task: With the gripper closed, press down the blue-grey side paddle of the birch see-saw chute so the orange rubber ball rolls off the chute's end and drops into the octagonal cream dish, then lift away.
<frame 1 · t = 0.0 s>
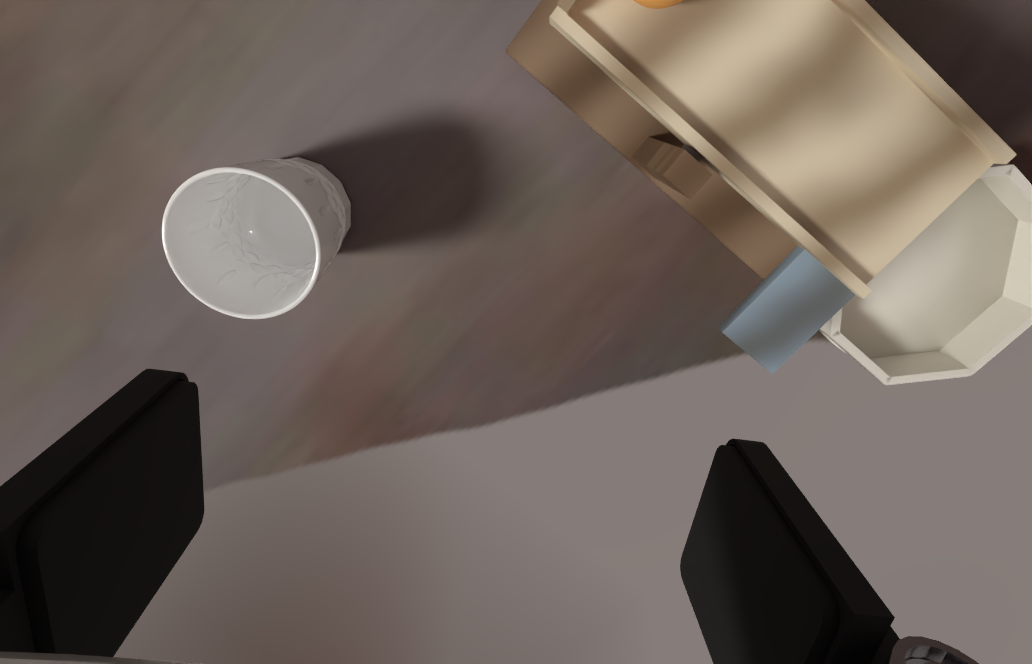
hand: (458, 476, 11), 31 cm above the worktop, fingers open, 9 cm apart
lever stand: (713, 77, 37), on the worktop
octagonal cream dish: (906, 265, 42), on the worktop
white cup: (301, 208, 40), on the worktop
lever: (729, 136, 32), point 7 cm above the worktop, hinge at -6.0°, touching ball
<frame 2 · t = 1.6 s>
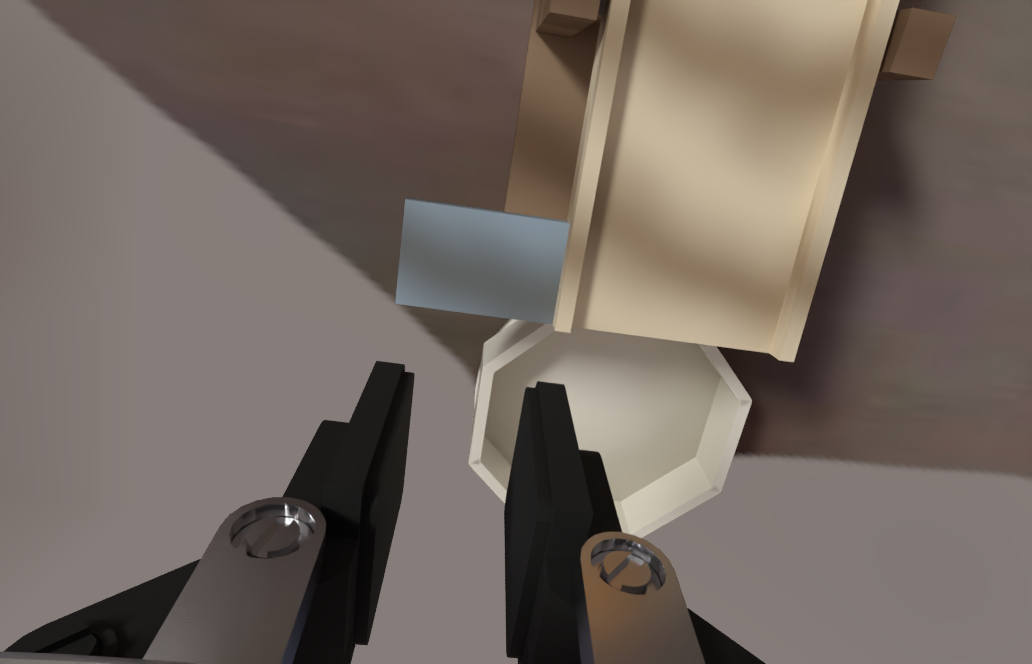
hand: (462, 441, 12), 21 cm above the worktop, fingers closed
lever stand: (679, 34, 28), on the worktop
octagonal cream dish: (596, 396, 36), on the worktop
lever: (646, 36, 22), point 7 cm above the worktop, hinge at -6.0°, touching ball
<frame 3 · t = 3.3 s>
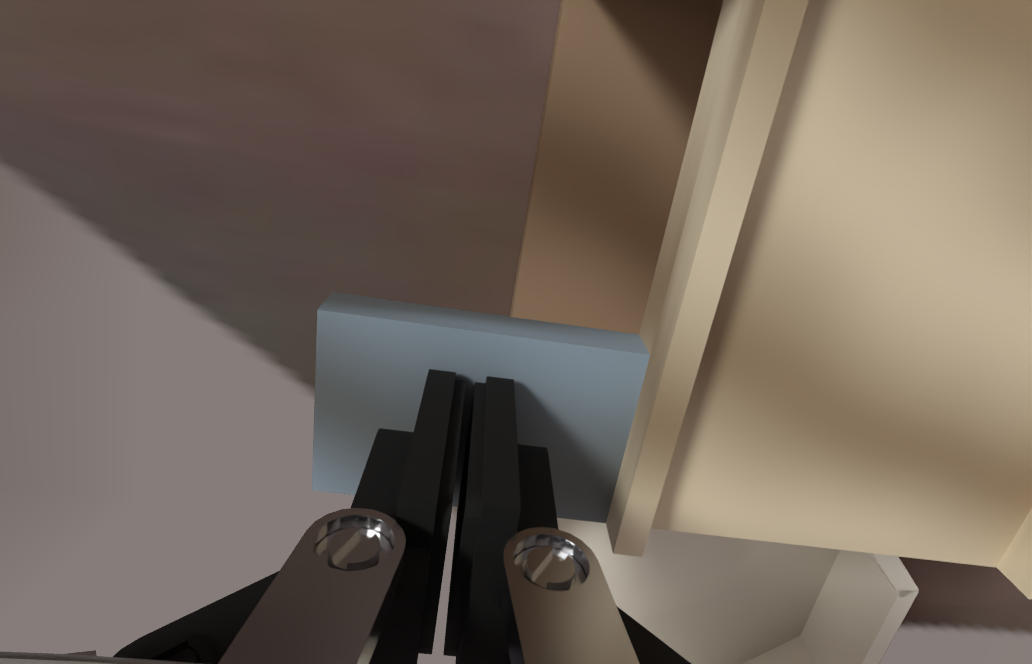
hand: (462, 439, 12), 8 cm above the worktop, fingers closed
octagonal cream dish: (653, 548, 24), on the worktop
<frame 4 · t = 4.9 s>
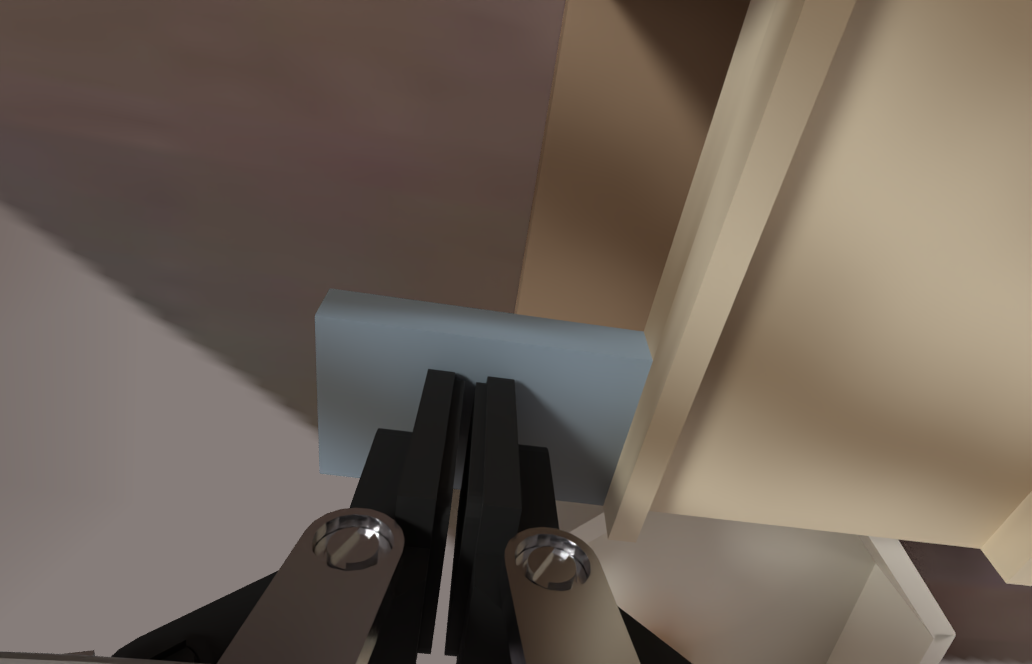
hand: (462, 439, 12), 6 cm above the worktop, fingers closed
octagonal cream dish: (664, 581, 22), on the worktop
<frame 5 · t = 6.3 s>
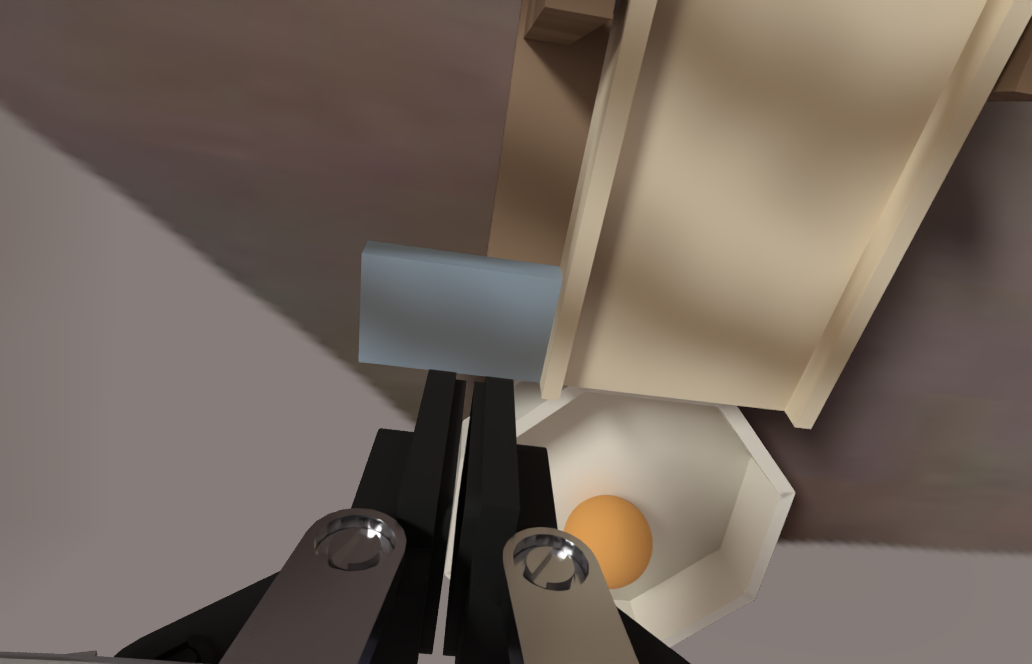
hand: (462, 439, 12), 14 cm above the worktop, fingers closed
lever stand: (704, 42, 23), on the worktop
octagonal cream dish: (600, 478, 29), on the worktop
ball: (607, 540, 27), point 3 cm above the worktop, tilted 141°, touching octagonal cream dish
lever: (673, 41, 16), point 7 cm above the worktop, hinge at 10.2°
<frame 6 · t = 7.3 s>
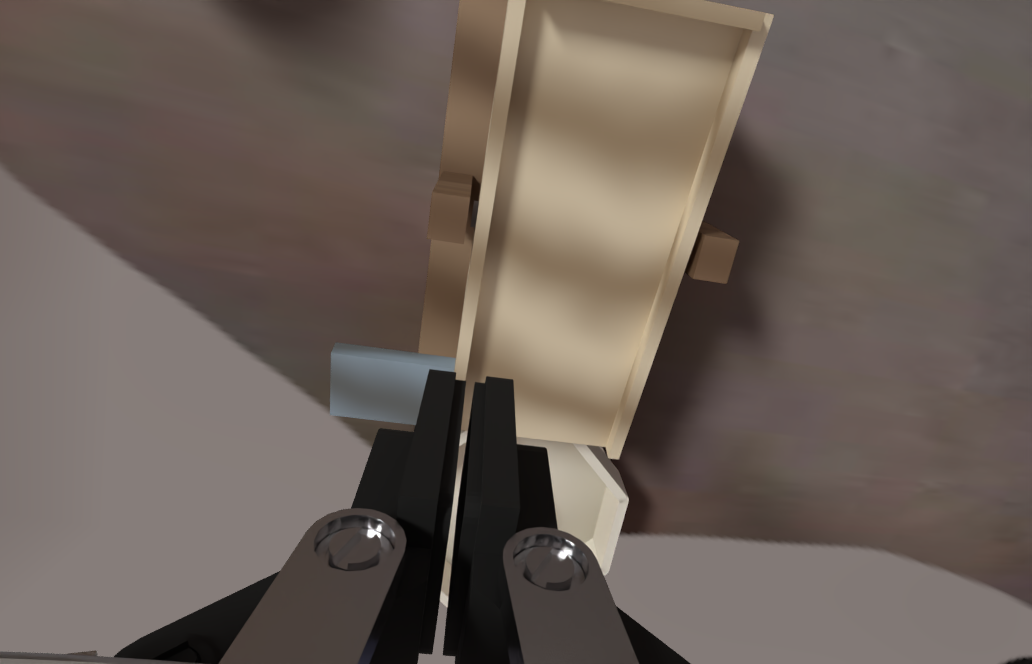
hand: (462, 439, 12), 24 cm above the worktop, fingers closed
lever stand: (560, 205, 35), on the worktop
octagonal cream dish: (506, 487, 41), on the worktop
lever: (511, 238, 28), point 7 cm above the worktop, hinge at 10.2°
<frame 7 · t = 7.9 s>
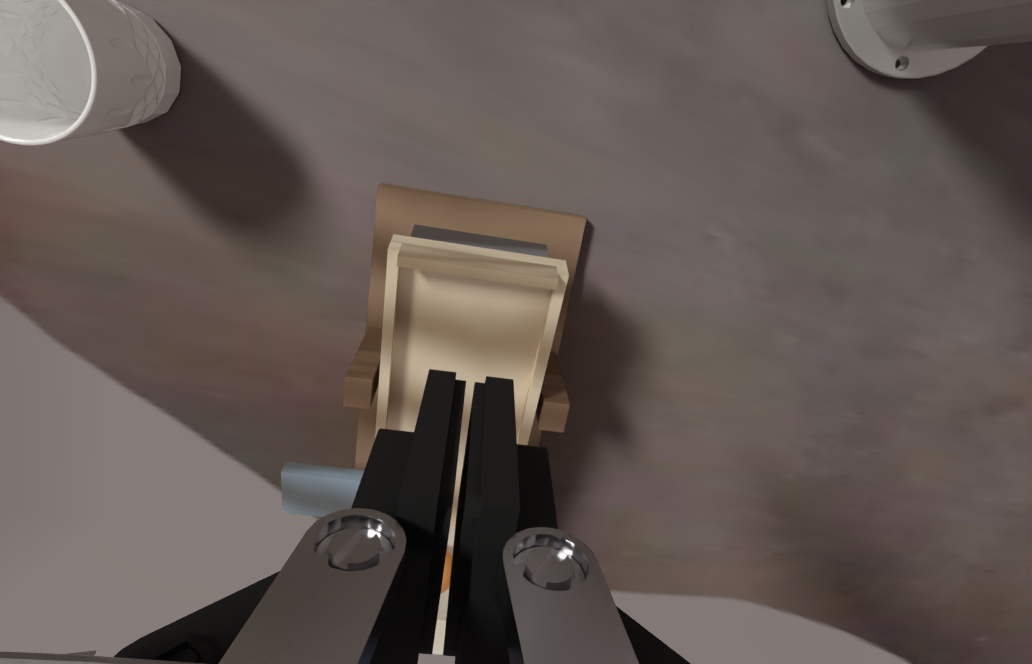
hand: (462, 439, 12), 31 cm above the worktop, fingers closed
lever stand: (462, 346, 45), on the worktop
octagonal cream dish: (432, 552, 52), on the worktop
ball: (430, 570, 49), point 3 cm above the worktop, tilted 80°, touching octagonal cream dish
white cup: (127, 64, 37), on the worktop
lever: (410, 394, 39), point 7 cm above the worktop, hinge at 10.2°
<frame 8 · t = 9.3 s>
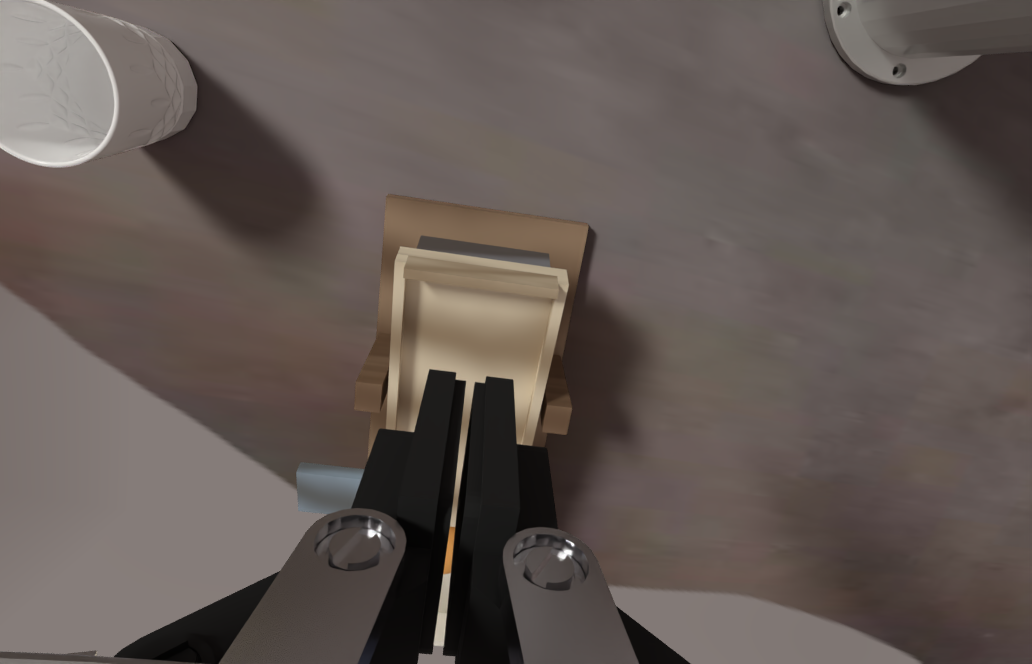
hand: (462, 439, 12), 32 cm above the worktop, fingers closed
lever stand: (469, 350, 46), on the worktop
octagonal cream dish: (443, 548, 54), on the worktop
ball: (443, 548, 50), point 3 cm above the worktop, tilted 26°, touching octagonal cream dish
white cup: (146, 84, 39), on the worktop
lever: (419, 398, 40), point 7 cm above the worktop, hinge at 10.2°
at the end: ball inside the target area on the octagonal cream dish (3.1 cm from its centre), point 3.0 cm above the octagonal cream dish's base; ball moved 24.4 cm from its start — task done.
